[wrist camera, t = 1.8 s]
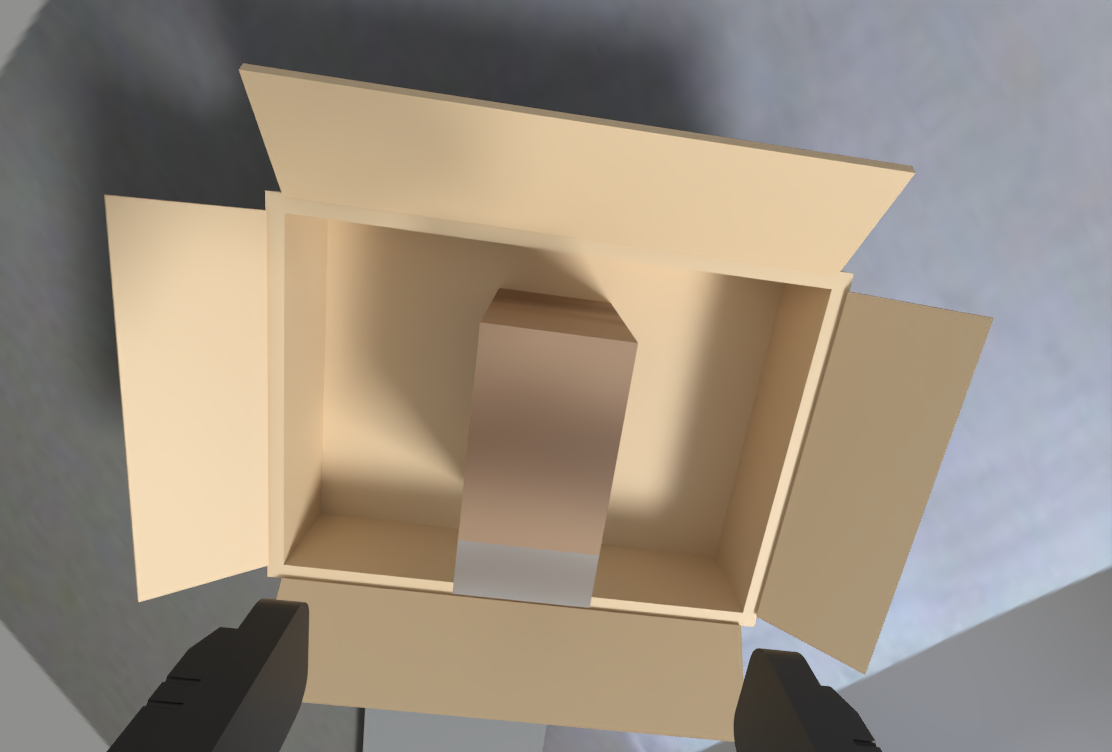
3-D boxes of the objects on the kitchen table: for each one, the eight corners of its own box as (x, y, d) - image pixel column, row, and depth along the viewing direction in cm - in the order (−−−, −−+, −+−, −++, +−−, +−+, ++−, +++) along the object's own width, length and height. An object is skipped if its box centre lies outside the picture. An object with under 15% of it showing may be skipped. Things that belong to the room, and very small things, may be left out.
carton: (227, 90, 21) (84, 37, 14) (901, 191, 22) (1048, 185, 16) (238, 573, 26) (140, 691, 20) (772, 628, 28) (840, 755, 21)
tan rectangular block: (499, 287, 23) (480, 322, 16) (611, 302, 23) (638, 342, 16) (477, 490, 25) (452, 593, 18) (577, 502, 25) (589, 608, 19)
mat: (373, 618, 27) (369, 627, 27) (559, 637, 28) (560, 646, 27) (364, 776, 30) (360, 787, 29) (533, 790, 31) (533, 801, 30)
